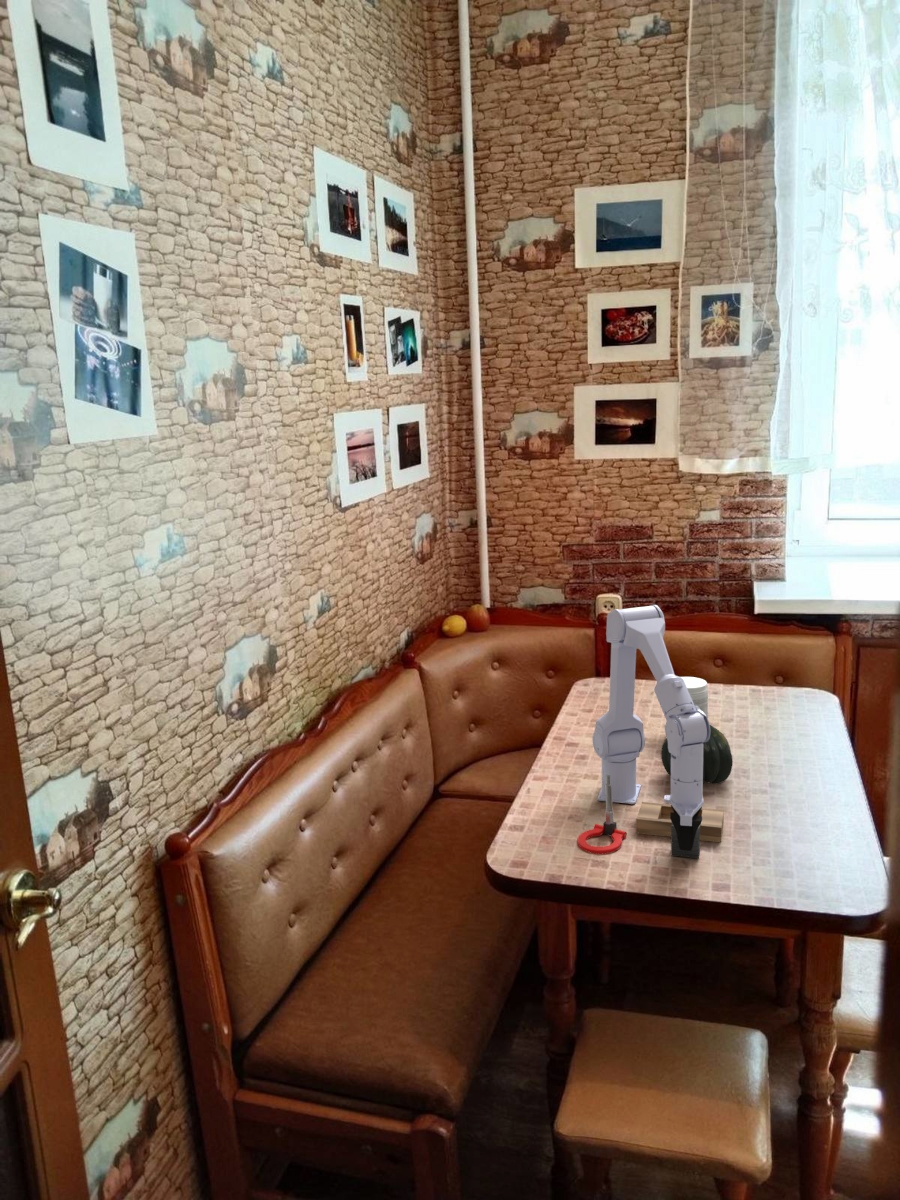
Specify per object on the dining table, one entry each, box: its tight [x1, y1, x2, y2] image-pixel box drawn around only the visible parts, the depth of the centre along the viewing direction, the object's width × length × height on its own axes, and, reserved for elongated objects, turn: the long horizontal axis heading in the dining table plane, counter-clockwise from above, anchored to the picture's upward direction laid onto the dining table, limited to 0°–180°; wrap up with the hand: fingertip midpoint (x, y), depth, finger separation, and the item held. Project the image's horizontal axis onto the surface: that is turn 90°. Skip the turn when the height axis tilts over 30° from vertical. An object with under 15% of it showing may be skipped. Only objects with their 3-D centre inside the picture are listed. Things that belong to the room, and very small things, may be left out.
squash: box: [660, 724, 734, 785], centre depth 210 cm, size 14×15×15 cm
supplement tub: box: [680, 676, 709, 718], centre depth 233 cm, size 10×10×15 cm
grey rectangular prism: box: [670, 823, 701, 859], centre depth 178 cm, size 3×5×6 cm, turn 72°
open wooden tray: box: [635, 801, 725, 843], centre depth 189 cm, size 8×16×3 cm, turn 71°
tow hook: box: [577, 774, 628, 855], centre depth 183 cm, size 8×13×9 cm
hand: (685, 844), depth 178 cm, fingers closed on grey rectangular prism, 3 cm apart
